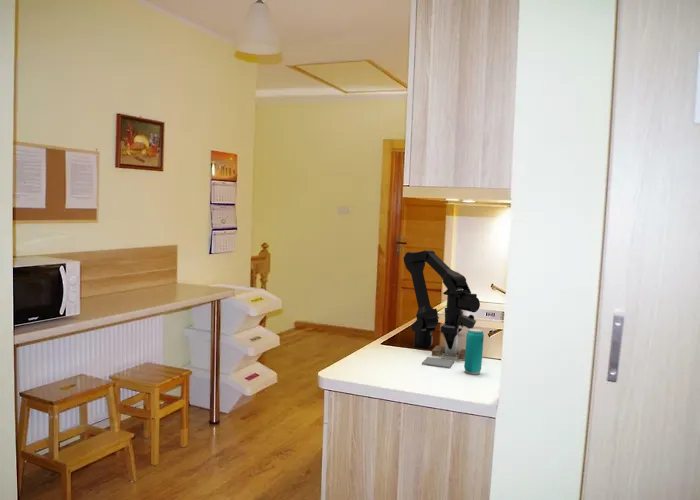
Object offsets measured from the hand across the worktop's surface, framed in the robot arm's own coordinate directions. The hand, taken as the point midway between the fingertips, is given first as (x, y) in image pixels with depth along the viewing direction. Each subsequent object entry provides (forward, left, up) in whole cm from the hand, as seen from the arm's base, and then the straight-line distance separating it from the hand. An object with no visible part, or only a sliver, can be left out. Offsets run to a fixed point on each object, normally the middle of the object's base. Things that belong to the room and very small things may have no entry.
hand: (451, 347), depth 223 cm
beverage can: (+11, -21, -3) cm, 24 cm away
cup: (-6, +38, -3) cm, 39 cm away
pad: (-2, -15, -3) cm, 15 cm away
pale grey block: (0, 0, -2) cm, 2 cm away
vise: (+2, 0, -3) cm, 4 cm away
